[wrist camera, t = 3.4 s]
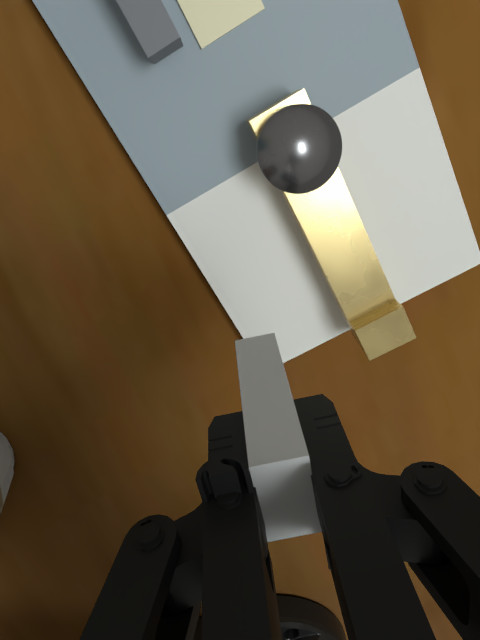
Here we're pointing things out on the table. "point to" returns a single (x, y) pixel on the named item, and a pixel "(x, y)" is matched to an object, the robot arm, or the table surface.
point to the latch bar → (329, 217)
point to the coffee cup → (5, 468)
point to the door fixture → (240, 145)
